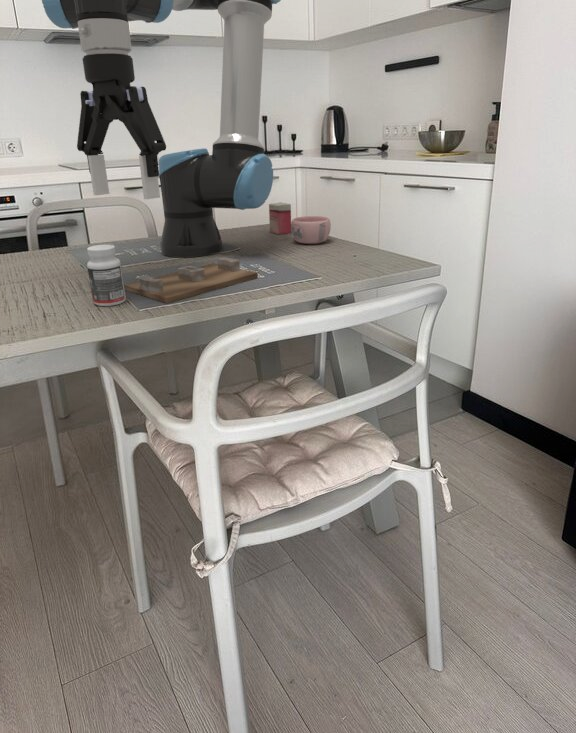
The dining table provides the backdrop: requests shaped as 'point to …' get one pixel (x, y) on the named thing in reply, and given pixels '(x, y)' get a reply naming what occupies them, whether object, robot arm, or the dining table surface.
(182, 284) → the board
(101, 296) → the pill bottle
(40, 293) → the dining table surface
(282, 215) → the small box
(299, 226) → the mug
